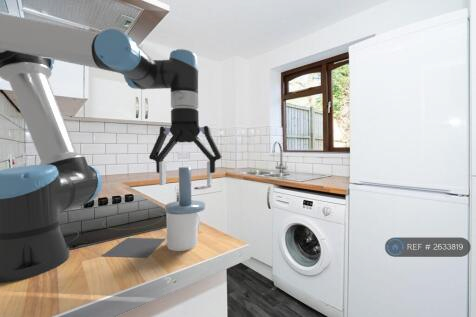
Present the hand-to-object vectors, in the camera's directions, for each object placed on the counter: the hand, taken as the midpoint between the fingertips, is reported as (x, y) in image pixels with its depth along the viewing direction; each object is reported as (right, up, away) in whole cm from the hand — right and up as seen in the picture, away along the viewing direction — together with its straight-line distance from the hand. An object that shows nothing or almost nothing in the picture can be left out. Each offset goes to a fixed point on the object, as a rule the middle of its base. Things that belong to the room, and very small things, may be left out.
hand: (186, 184), depth 65 cm
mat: (-13, -17, -2) cm, 22 cm away
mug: (0, -17, +1) cm, 17 cm away
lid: (0, -7, 0) cm, 7 cm away
